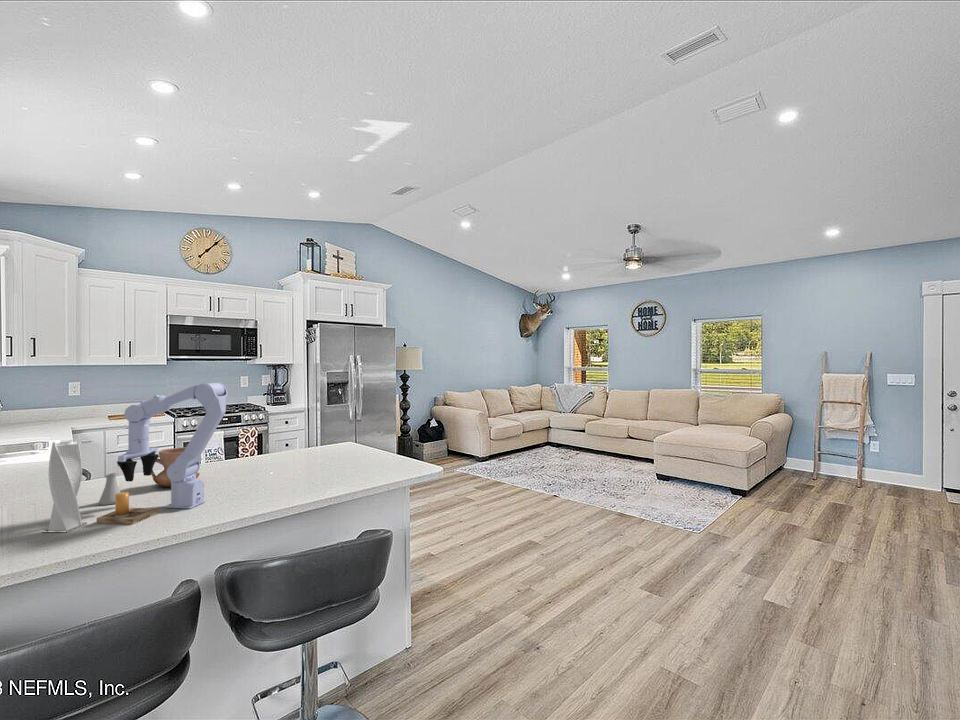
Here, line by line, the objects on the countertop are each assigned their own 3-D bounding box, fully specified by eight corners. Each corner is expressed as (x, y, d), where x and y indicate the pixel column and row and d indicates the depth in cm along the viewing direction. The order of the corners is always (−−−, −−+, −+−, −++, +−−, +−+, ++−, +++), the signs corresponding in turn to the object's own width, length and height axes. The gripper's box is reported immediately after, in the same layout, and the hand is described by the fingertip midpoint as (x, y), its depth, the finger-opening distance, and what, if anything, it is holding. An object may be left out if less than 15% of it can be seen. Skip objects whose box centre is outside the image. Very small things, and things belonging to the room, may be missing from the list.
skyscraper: (91, 523, 141) (92, 433, 141) (69, 533, 133) (69, 437, 133) (63, 523, 141) (64, 432, 141) (39, 533, 133) (39, 437, 133)
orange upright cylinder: (131, 517, 147) (131, 492, 147) (121, 521, 144) (122, 495, 144) (122, 516, 148) (122, 492, 148) (112, 520, 144) (112, 495, 144)
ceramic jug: (203, 478, 195) (203, 444, 195) (199, 487, 182) (199, 451, 182) (151, 482, 187) (152, 448, 187) (143, 492, 174) (144, 455, 174)
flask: (93, 506, 158) (93, 477, 158) (104, 500, 165) (104, 472, 165) (117, 504, 160) (117, 476, 160) (127, 498, 167) (128, 471, 167)
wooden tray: (158, 513, 151) (158, 508, 151) (132, 524, 141) (132, 519, 141) (123, 512, 152) (123, 507, 152) (96, 522, 142) (96, 518, 142)
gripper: (144, 435, 167) (144, 472, 167) (109, 442, 152) (109, 483, 152) (163, 435, 166) (162, 473, 166) (129, 443, 152) (129, 484, 152)
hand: (138, 478), depth 159 cm, fingers open, 7 cm apart
